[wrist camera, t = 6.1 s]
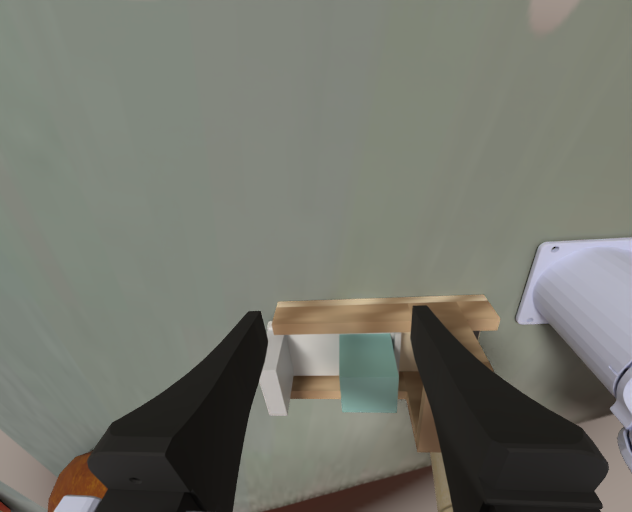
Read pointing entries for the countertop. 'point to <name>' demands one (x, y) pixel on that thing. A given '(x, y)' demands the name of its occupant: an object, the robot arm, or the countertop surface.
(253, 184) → the countertop surface
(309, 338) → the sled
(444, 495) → the flower pot
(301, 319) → the wooden frame
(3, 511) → the cracker box
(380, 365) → the block
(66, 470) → the bread
